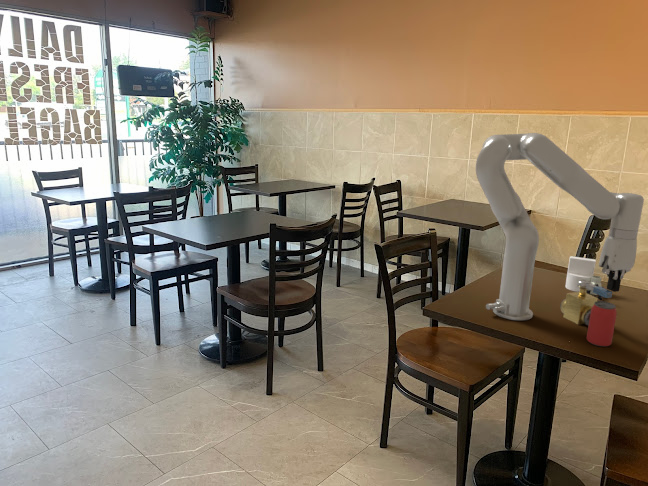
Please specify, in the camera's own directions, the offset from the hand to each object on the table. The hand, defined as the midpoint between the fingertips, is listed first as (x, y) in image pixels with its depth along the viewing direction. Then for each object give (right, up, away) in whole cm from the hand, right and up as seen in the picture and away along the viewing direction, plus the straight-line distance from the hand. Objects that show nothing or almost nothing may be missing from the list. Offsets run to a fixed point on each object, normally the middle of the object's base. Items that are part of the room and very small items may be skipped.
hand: (612, 290), depth 160 cm
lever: (-6, 0, -1) cm, 6 cm away
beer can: (-10, -15, -10) cm, 21 cm away
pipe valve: (-8, -10, +6) cm, 14 cm away
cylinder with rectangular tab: (+7, -3, +37) cm, 38 cm away
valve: (+9, -5, +28) cm, 30 cm away
